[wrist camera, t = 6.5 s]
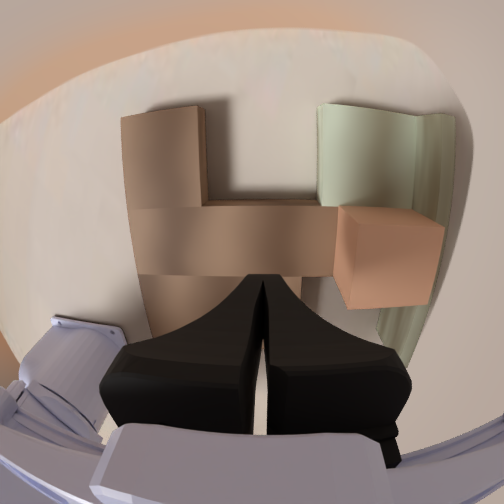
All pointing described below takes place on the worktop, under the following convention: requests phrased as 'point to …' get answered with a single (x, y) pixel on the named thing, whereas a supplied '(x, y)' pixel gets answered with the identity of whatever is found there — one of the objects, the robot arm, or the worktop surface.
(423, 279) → the block
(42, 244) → the worktop surface
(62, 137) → the worktop surface
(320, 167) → the blocky structure
